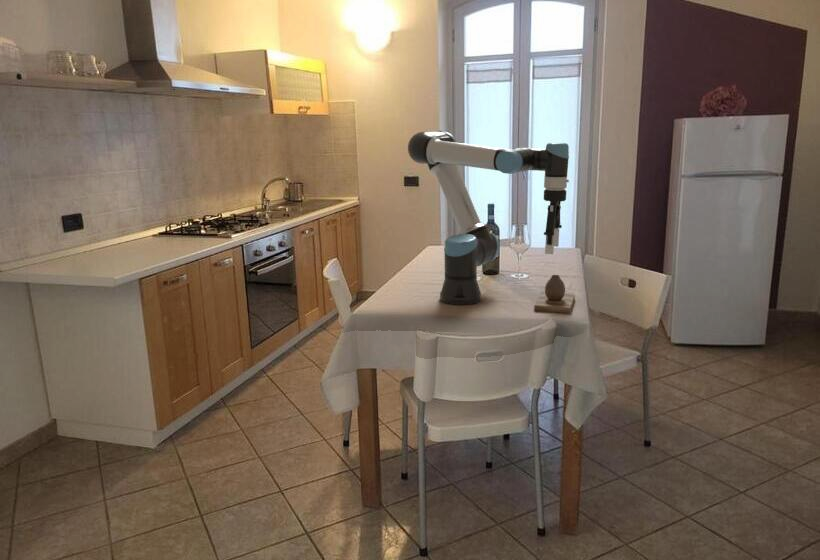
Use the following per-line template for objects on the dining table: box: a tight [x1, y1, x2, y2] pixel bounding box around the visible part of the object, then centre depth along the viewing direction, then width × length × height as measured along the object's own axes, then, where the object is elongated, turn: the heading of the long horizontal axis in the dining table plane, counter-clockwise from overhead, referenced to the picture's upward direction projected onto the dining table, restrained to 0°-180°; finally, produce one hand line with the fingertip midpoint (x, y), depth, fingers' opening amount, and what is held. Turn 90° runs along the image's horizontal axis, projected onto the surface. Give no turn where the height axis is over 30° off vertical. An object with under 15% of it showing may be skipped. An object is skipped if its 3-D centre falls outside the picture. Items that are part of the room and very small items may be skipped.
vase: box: [544, 274, 566, 301], centre depth 216 cm, size 7×7×9 cm
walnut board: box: [533, 291, 576, 314], centre depth 218 cm, size 18×12×2 cm, turn 161°
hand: (551, 250), depth 216 cm, fingers open, 13 cm apart
